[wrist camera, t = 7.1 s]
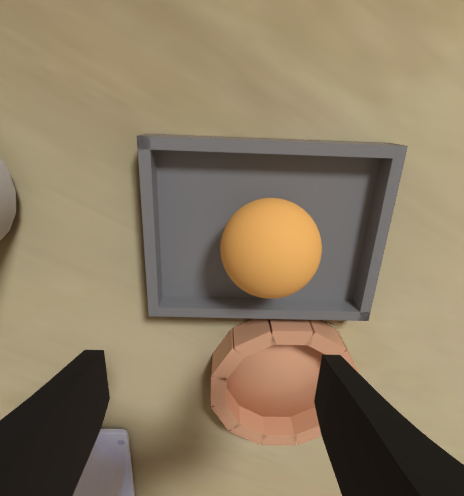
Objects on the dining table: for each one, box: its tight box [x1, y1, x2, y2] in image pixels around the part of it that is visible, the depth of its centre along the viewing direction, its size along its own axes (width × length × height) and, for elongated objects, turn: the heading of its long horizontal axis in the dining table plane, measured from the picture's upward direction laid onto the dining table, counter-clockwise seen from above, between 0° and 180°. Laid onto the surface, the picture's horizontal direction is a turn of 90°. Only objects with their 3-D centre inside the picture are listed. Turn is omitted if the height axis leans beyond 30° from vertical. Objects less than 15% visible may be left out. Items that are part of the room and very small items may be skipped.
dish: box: [211, 318, 359, 445], centre depth 22 cm, size 10×10×2 cm
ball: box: [220, 198, 322, 299], centre depth 17 cm, size 5×5×5 cm
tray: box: [137, 134, 408, 321], centre depth 19 cm, size 10×13×2 cm
